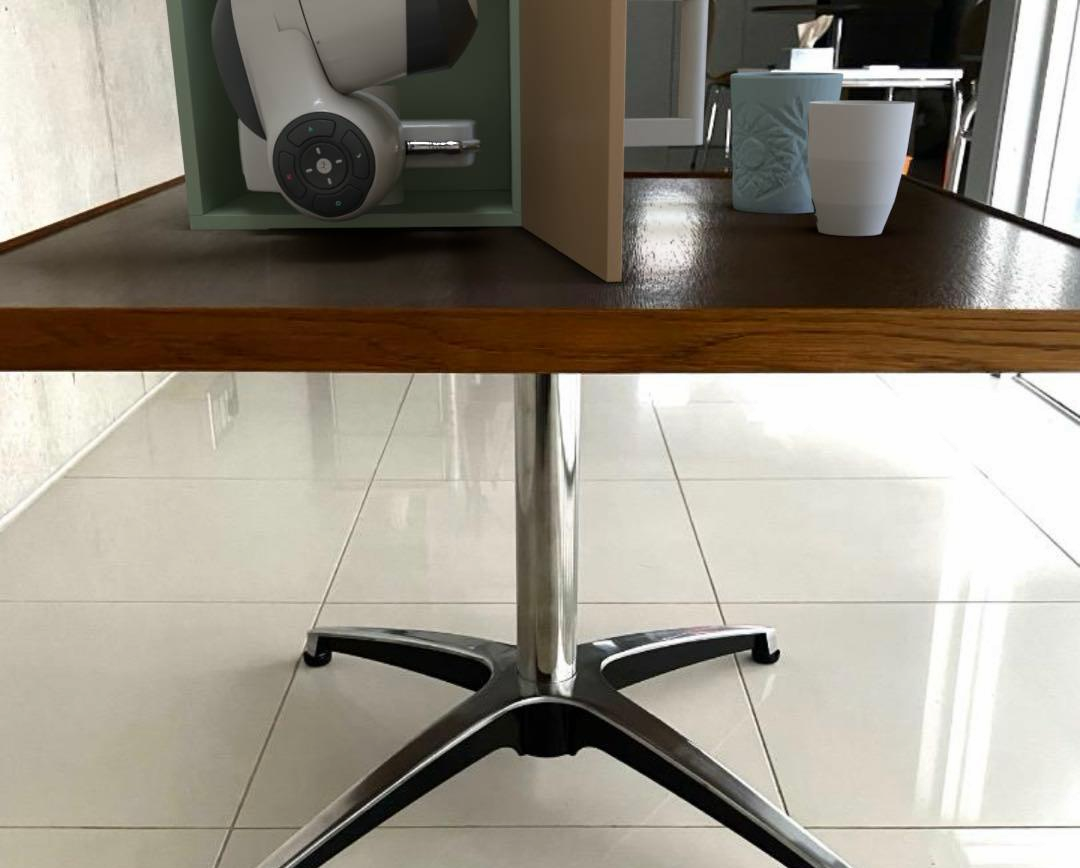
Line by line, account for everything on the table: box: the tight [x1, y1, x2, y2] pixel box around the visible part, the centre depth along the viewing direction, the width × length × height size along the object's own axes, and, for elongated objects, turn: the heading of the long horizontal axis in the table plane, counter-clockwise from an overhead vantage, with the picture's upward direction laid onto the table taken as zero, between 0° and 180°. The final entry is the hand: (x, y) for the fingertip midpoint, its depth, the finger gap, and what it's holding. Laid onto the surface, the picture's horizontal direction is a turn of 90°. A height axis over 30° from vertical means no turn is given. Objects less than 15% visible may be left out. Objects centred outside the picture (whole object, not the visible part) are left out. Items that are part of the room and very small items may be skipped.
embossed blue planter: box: [729, 71, 844, 214], centre depth 113 cm, size 10×10×12 cm
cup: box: [808, 100, 916, 237], centre depth 98 cm, size 8×8×10 cm
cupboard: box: [165, 0, 522, 231], centre depth 108 cm, size 20×28×26 cm
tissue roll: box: [359, 85, 404, 206], centre depth 110 cm, size 6×6×10 cm
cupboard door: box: [519, 0, 710, 283], centre depth 86 cm, size 7×28×26 cm, turn 12°
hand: (368, 138), depth 110 cm, fingers closed on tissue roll, 6 cm apart
